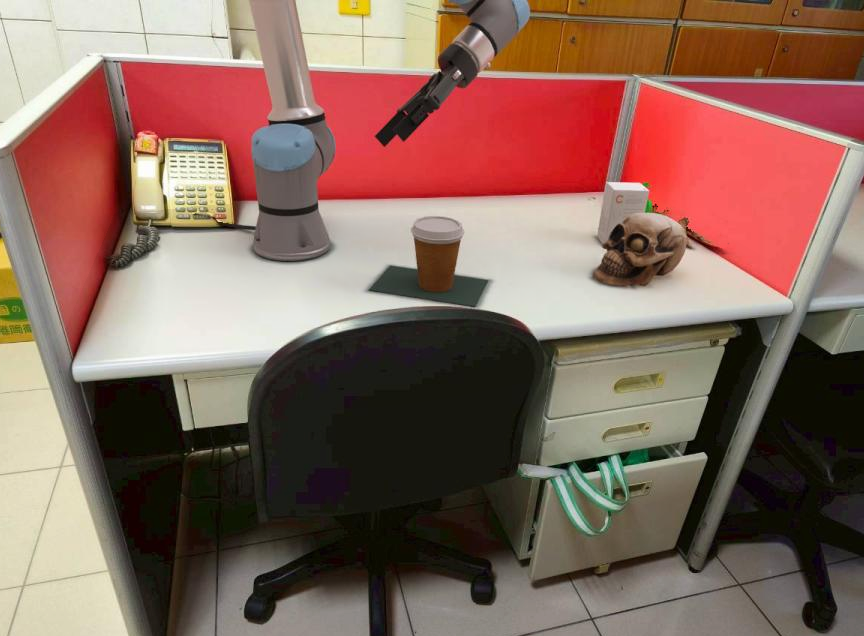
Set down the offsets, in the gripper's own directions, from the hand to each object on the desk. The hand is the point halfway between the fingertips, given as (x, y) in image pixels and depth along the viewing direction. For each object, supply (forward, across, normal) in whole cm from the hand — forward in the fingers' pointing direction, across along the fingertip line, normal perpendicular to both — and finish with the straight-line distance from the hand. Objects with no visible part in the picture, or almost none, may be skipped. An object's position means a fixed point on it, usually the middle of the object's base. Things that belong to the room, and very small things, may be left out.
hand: (388, 138), depth 117 cm
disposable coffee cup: (+14, -8, -24) cm, 29 cm away
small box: (-25, +4, -53) cm, 58 cm away
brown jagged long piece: (-39, 0, -66) cm, 77 cm away
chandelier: (-44, +22, -62) cm, 80 cm away
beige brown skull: (-16, -13, -52) cm, 56 cm away
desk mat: (+15, -8, -23) cm, 28 cm away
